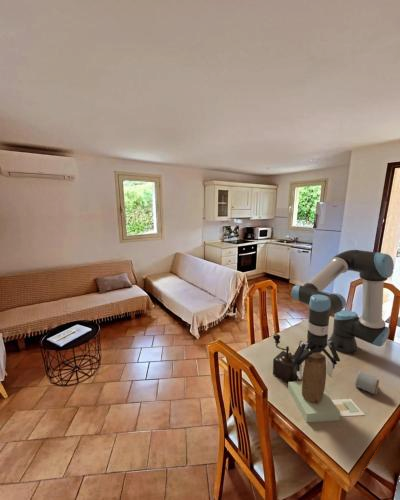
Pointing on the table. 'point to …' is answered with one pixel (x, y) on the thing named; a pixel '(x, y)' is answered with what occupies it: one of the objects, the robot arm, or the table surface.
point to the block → (314, 377)
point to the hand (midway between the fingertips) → (314, 375)
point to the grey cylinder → (367, 382)
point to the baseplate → (313, 405)
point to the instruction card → (347, 407)
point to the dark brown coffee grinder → (284, 364)
